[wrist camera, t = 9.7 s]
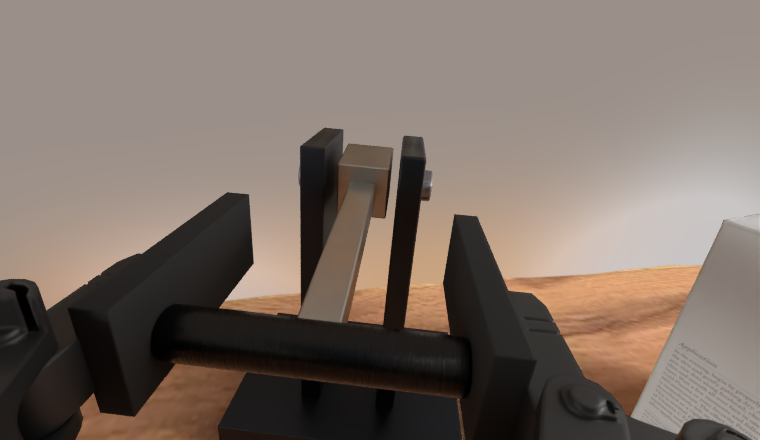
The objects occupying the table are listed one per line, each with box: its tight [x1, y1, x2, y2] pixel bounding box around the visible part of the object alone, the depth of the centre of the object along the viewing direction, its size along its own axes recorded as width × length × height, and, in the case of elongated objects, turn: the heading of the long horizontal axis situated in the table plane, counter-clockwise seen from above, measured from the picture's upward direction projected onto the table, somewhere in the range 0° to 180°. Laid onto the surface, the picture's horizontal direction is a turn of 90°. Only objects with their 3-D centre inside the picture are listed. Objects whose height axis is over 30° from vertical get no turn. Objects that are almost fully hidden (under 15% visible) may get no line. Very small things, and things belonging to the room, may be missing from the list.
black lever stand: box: [218, 128, 462, 440], centre depth 20 cm, size 9×12×15 cm
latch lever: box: [151, 144, 472, 399], centre depth 13 cm, size 12×7×2 cm, turn 175°
